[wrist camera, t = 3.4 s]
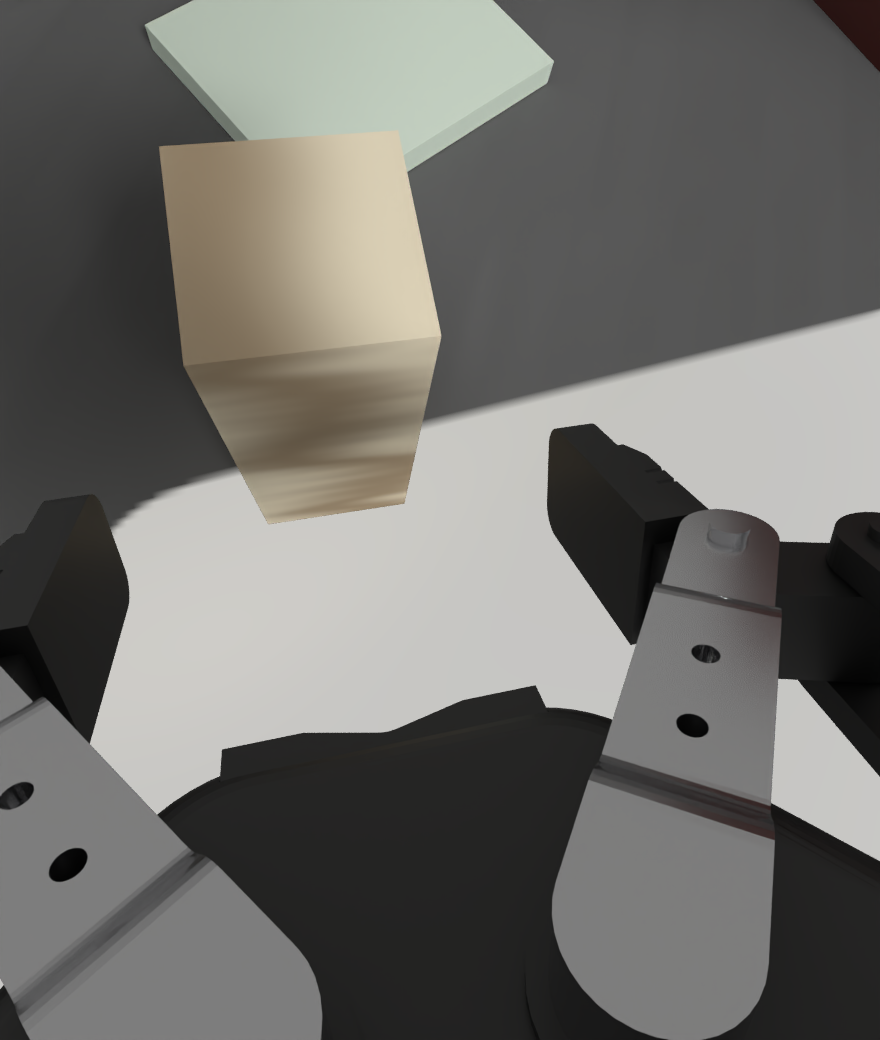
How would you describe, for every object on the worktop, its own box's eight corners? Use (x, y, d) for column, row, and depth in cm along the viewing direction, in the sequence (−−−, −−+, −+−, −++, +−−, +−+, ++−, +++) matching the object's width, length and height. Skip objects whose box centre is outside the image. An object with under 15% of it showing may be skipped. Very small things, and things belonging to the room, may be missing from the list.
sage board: (391, -74, 29) (392, -100, 28) (547, 82, 28) (553, 61, 27) (152, 49, 26) (144, 25, 25) (315, 230, 25) (313, 211, 24)
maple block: (381, 381, 24) (398, 130, 13) (404, 503, 23) (441, 336, 12) (251, 397, 23) (159, 146, 13) (268, 524, 22) (183, 365, 12)
